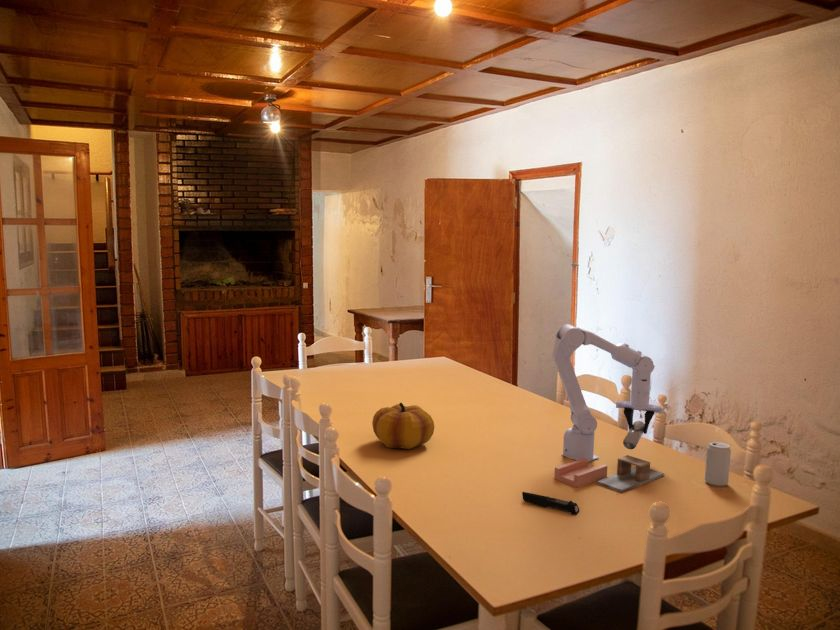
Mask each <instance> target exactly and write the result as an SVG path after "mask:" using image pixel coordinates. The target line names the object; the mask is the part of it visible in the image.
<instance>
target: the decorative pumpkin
mask: <svg viewBox="0 0 840 630" xmlns="http://www.w3.org/2000/svg"><path fill="white" fill-rule="evenodd" d="M372 417H373V418H372V420H371V421H372V422H371V423H372V429H373V432H374V435H375V436H376V438H377V439H378V440H379V441H380V442H381V443H382V444H383V445H385V447H387V448H388V449H389V448H390V449H398V448H400V449H403V450H410V449H412V448H415V447H418V446H422V445H424V444H427V442H429V441H430V440H431V438H432V437H433V435H434V432H435V431H434V430H435V422H434V419H433V417H432V416H431V415H430V414H429V413H428V412H427V411H426V410H424V409H423V408H422V407H421V406H419V405H416V404H413V405H409V406H405V405H404V404H403V402H399V403H397V404H394V405H392V406H391V407H389V406H386V407H382V408H380V409H378V410H377V411H376V412H375V414H374V415H373V416H372Z"/></svg>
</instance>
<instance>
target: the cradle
mask: <svg viewBox="0 0 840 630" xmlns="http://www.w3.org/2000/svg"><path fill="white" fill-rule="evenodd" d="M607 477H608V465H607V464H600V465H598V466H594V467H593V466H590V465H589V462H588V459H586V458H582V459H579V460H573V461H571V462H567V463H564V464H561V465H558V466H555V467H554V477H553V479H554V480H557V481H559V482H562V483H564V484H567V485H570V486H572V487H575V488H581V487H584V486H586V485H589V484H591V483H594V482H597V481H599V480H601V479H604V478H607Z"/></svg>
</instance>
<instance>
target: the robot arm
mask: <svg viewBox="0 0 840 630" xmlns="http://www.w3.org/2000/svg"><path fill="white" fill-rule="evenodd" d="M582 345H583V346H589V345H592V346H594V347H596V348H599V349H601V350H602V351H605V352H607V353H609V354H611V355H610V356H611V358H612V360H613V361H615V362H618V363H620V364H622V365H624V366H626V367H628V368H631V369H632V375H631V387H630V389H631V390H630V401H625V400H624V401H621V400H617V401H616V402H615V408H616V409H623V414H624V417H625V419H626V421H627V425H628V431H629V430H630V429H631V427H632V425H633V424H634V422H633V421H634V411H641V412H645V413H644V424H645V425H644V432H643V434H644V435H647V434H648V428H649V426H650V422H651V420H652V419H653V418H654V415H655V414H659V415H663V414H664V406H660V405H656V404H655V405H654V404H651V403H650V395H651V393H650V392H651V391H650V390H651V375H652V372H653V371H654V370H655V366H656V365H654V361H653V359H652V358H651V357H649V356H647V355H645V354H643V353H642V351H640V350H635V349H633V348H631V347H630V345H629V344H627V343H625V342H624V343H617V344H614V343H613V342H610V341H609V340H607V339H605V338H603V337H601V336H599V335H598V334H595V333H594V332H591V331H589V330H588V329H587V330H586V329H584V328H581V327H578V326H577V327H576V326H575V325H573V324H570V323H567V324H563V325H562V326H561V327H560V328H559V329H558V331H557V332H556V333H555V341H554V347H553V351H552V358H553V361H554V363H555V367H556V369H557V373H558V374H559V377H560V381H561V382H562V385H563V389H564V391H565V395H566V397H567V400H568V402H569V405H570V406H569V409H570V412H571V413H570V421H571V422H572V424H573V426H572V427H569V428H567V429H566V430H565V432H564V435H563V445H562V449H563V450H562V451H563V452H562V453H561V456H563V457H567V458H568V459H572V460H573V461H576V460H579V459H582V458H586V459H588V463H589V462H592V461H594V460H597V459H599V458H600V457H599V456H598V455H596V454H595V453H594V451H595V450H594V449H595V433H596V432H595V431H596V430H597V428H598V427H597V426H598V420H597V419H596V418H595V416H593V415H592V413H591V411H590V408H589V406H588V405H587V403H586V401H585V400H586V399H585V397H584V394H583V392H582V391H583V390H582V389H581V387H580V384H579V380H578V378H577V374H576V372H575V369H574V366H573V363H572V361H571V358H572V355H573V354H574V352H575V351H576V350H578V348H580V347H581V346H582Z"/></svg>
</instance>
